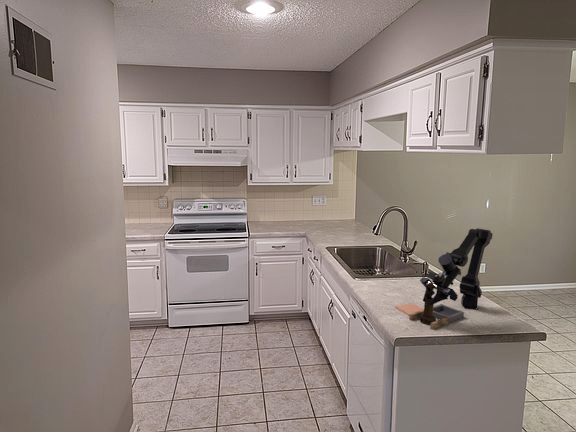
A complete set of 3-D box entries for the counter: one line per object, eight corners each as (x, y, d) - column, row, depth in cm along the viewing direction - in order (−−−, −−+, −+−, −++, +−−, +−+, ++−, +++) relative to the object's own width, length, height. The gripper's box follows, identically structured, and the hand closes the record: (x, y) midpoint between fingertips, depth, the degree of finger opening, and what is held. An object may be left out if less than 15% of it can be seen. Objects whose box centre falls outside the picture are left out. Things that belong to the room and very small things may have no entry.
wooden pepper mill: (432, 318, 190) (435, 281, 187) (437, 324, 184) (441, 285, 181) (417, 318, 190) (420, 280, 187) (422, 324, 183) (425, 285, 180)
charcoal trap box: (441, 308, 202) (441, 303, 202) (463, 317, 192) (464, 312, 192) (425, 314, 195) (425, 309, 195) (448, 323, 186) (448, 317, 185)
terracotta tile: (412, 304, 207) (412, 303, 207) (428, 312, 197) (428, 311, 197) (394, 307, 203) (394, 306, 203) (409, 315, 193) (409, 314, 193)
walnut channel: (424, 314, 195) (424, 309, 195) (447, 323, 185) (448, 318, 185) (409, 319, 189) (409, 314, 188) (432, 329, 179) (433, 323, 178)
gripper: (424, 260, 192) (403, 285, 190) (454, 271, 175) (432, 299, 173) (436, 274, 197) (416, 299, 194) (467, 287, 180) (445, 314, 177)
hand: (426, 302), depth 185 cm, fingers closed on wooden pepper mill, 4 cm apart
